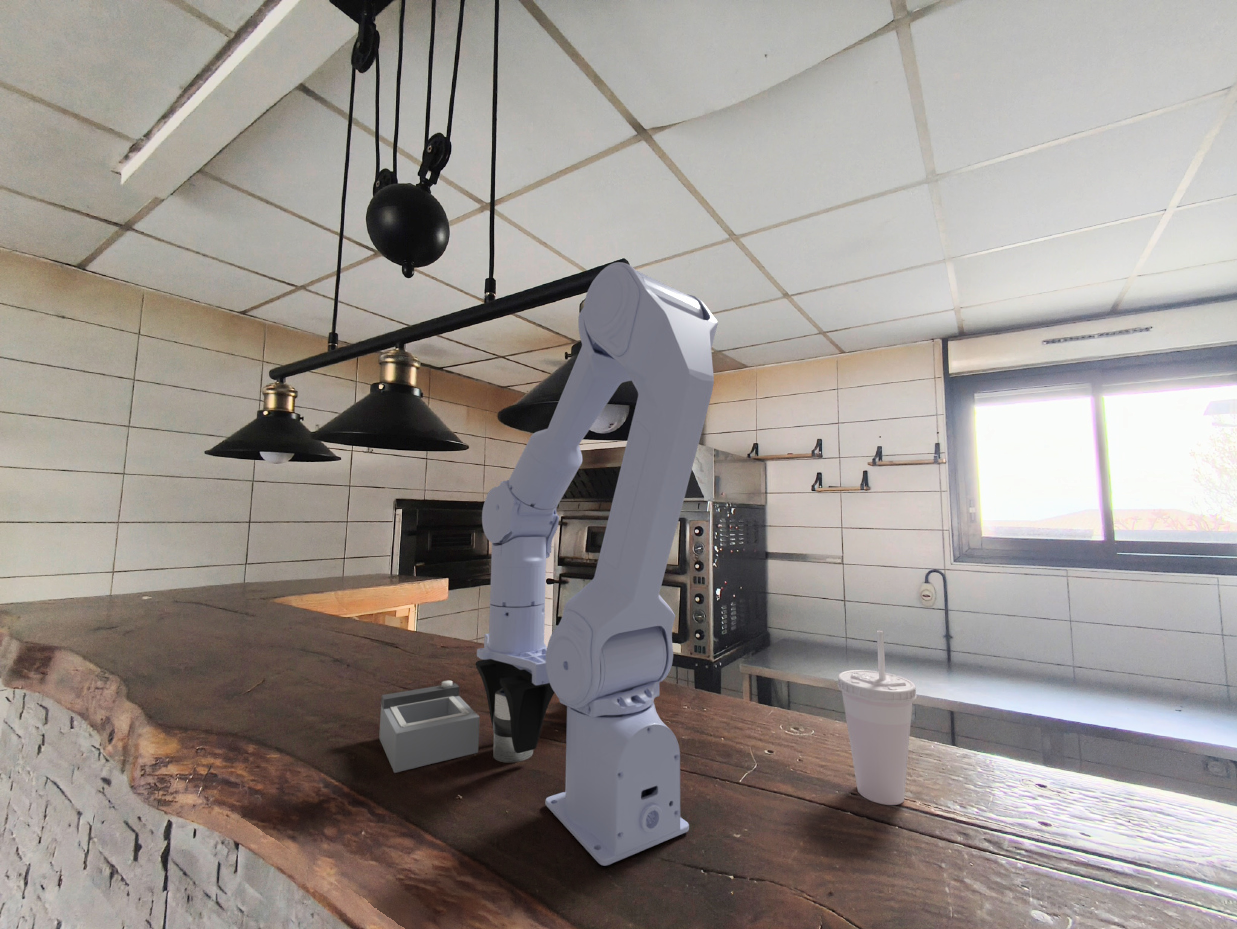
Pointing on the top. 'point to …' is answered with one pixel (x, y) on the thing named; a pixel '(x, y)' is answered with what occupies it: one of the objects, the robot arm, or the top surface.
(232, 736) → the top surface
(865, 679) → the smoothie
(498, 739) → the lens
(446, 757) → the grey sink basin
